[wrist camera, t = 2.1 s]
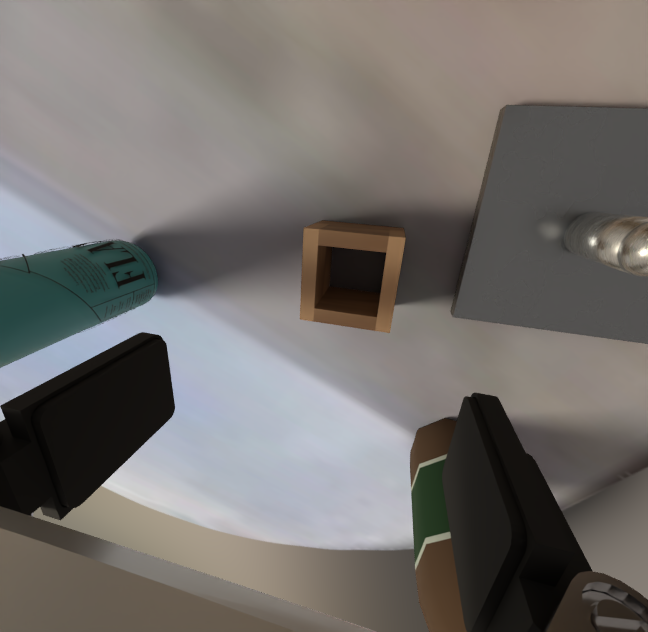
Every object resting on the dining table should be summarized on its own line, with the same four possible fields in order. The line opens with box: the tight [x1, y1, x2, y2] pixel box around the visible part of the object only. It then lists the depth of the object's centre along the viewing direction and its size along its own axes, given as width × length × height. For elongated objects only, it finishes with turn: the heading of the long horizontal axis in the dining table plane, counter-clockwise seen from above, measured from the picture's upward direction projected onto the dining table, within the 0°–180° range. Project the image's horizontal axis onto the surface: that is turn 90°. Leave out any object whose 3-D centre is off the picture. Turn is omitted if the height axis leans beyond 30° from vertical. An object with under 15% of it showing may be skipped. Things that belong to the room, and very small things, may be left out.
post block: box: [451, 105, 648, 344], centre depth 18 cm, size 14×14×8 cm
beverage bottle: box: [0, 239, 158, 368], centre depth 21 cm, size 6×7×20 cm
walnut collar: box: [300, 220, 406, 333], centre depth 23 cm, size 6×6×6 cm
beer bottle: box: [410, 418, 467, 632], centre depth 19 cm, size 8×8×24 cm
